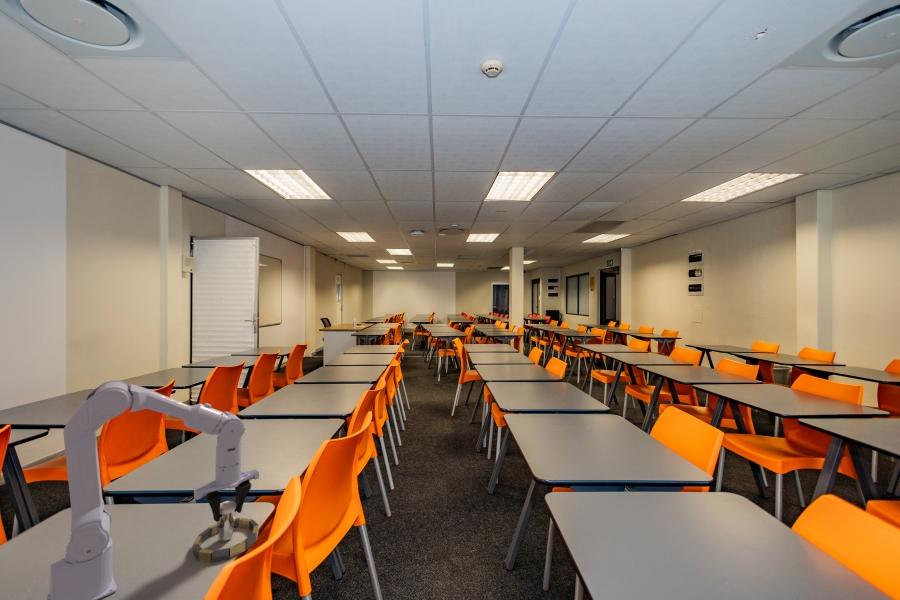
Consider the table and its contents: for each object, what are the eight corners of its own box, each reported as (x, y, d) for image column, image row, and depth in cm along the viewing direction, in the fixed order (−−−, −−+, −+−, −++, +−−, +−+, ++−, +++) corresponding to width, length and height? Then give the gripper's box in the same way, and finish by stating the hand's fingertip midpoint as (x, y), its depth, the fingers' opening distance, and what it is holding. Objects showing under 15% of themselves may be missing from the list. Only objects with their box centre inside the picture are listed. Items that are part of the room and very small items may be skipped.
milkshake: (231, 544, 92) (233, 507, 91) (211, 542, 92) (212, 505, 91) (242, 531, 96) (243, 496, 96) (222, 530, 96) (223, 494, 96)
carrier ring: (204, 570, 83) (205, 561, 83) (186, 544, 92) (186, 536, 92) (267, 540, 94) (267, 532, 94) (245, 519, 103) (245, 512, 103)
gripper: (201, 477, 85) (199, 535, 85) (264, 458, 96) (263, 509, 96) (191, 469, 89) (190, 523, 89) (253, 451, 101) (252, 499, 100)
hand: (227, 515), depth 93 cm, fingers closed on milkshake, 4 cm apart
